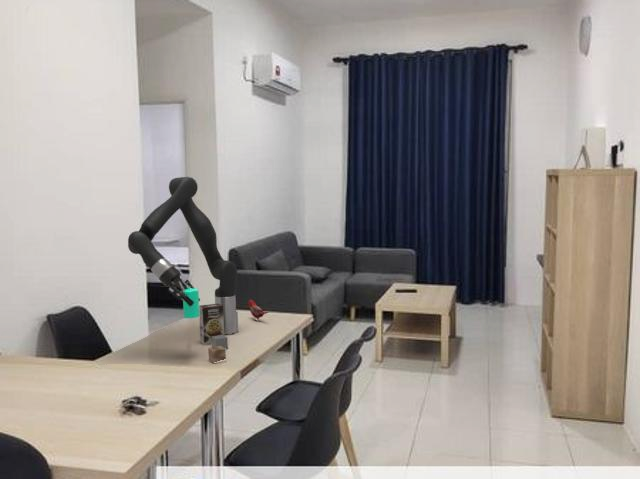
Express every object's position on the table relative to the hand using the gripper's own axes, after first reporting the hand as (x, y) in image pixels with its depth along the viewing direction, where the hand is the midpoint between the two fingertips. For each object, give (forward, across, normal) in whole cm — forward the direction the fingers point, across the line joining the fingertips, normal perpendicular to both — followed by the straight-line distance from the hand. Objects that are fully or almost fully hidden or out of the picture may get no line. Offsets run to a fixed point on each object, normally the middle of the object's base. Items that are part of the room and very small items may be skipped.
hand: (195, 303), depth 222 cm
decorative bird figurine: (+19, +58, +13) cm, 63 cm away
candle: (+3, 0, +5) cm, 6 cm away
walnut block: (+22, -3, +9) cm, 24 cm away
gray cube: (+18, +12, +13) cm, 26 cm away
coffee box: (+13, +21, +18) cm, 31 cm away
